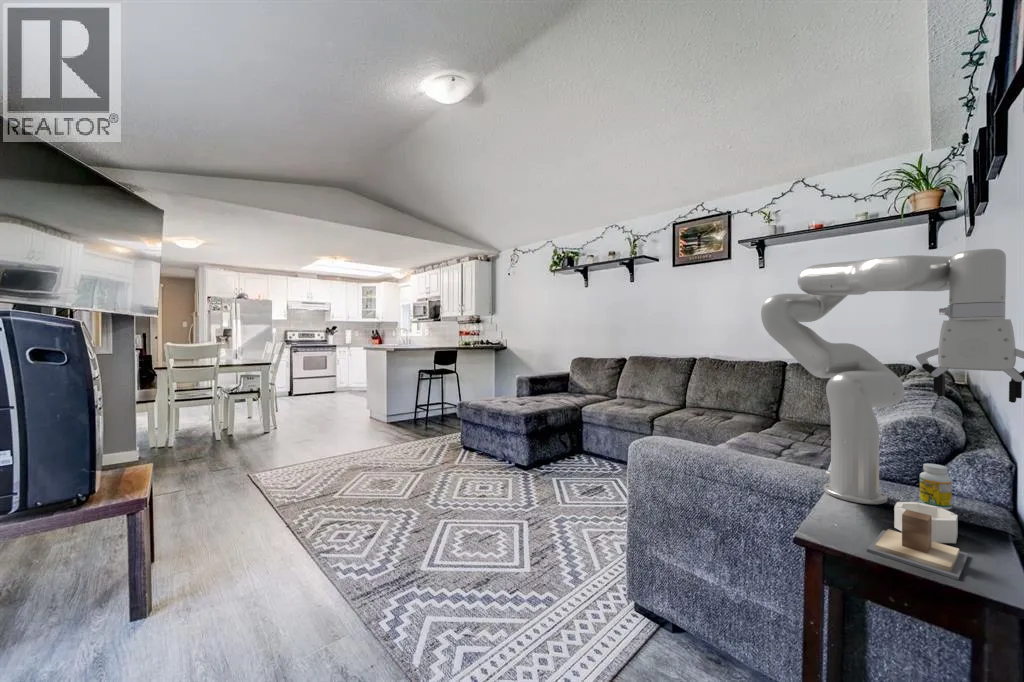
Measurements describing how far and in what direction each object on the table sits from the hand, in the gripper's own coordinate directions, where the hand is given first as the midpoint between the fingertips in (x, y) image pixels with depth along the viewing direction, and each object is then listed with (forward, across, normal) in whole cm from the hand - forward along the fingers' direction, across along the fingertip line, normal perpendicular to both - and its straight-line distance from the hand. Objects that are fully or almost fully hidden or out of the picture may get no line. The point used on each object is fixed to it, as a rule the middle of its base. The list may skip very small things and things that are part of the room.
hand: (975, 398), depth 84 cm
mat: (+28, -5, -17) cm, 33 cm away
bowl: (+28, -6, -4) cm, 29 cm away
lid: (+28, -5, -17) cm, 33 cm away
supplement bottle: (+28, -8, +15) cm, 33 cm away
